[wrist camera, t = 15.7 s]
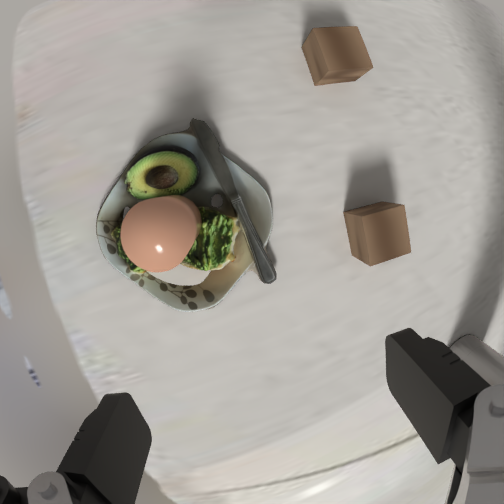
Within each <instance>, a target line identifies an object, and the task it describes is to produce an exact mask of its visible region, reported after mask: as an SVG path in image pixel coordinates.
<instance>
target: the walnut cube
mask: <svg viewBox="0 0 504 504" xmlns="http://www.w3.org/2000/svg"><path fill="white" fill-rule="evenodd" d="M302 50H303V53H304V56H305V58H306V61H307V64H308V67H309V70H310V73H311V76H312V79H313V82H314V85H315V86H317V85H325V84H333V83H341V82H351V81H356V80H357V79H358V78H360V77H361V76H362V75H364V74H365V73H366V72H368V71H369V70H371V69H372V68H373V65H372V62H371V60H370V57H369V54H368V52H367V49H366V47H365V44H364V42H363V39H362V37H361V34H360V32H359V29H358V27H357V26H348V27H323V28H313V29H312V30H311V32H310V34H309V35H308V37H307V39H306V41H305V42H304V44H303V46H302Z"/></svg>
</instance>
